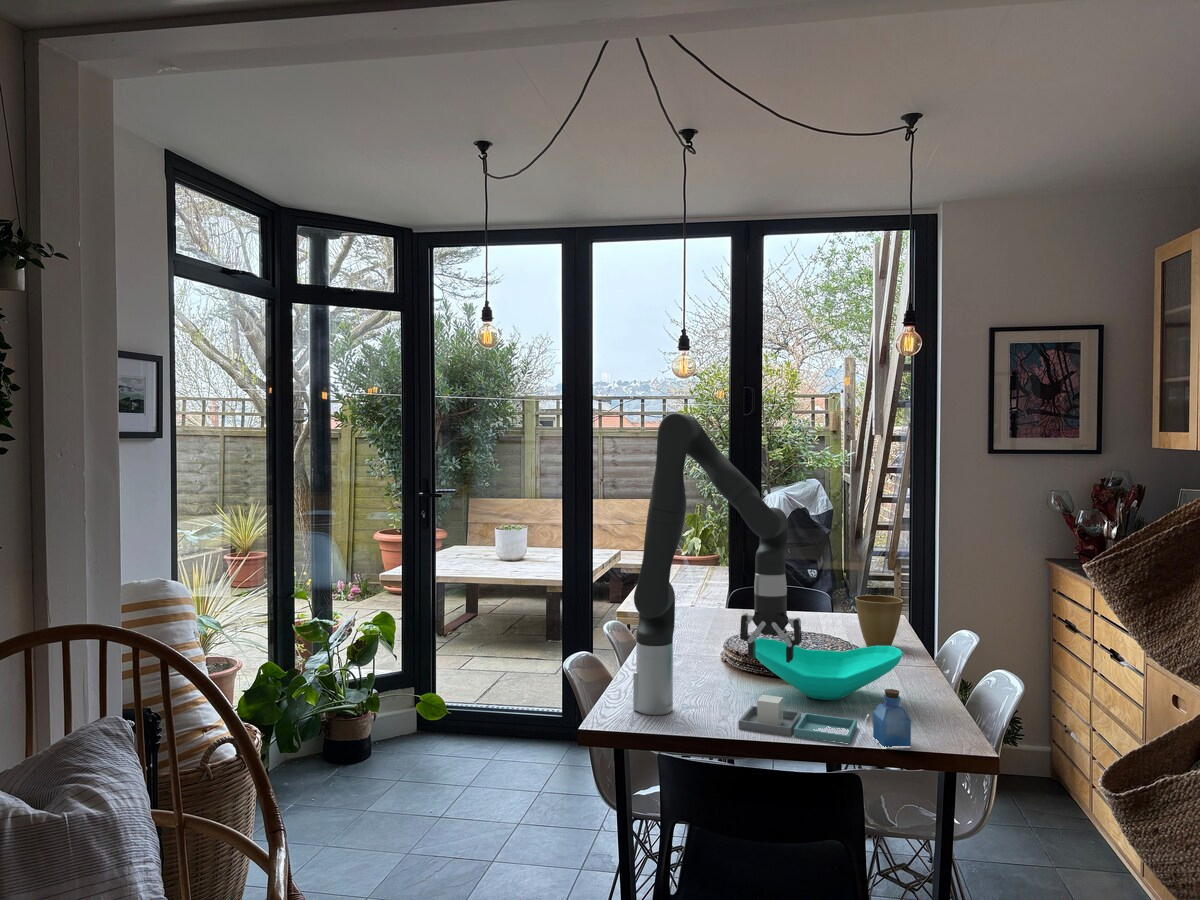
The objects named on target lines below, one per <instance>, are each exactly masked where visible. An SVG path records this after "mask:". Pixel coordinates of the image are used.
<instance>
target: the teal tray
mask: <svg viewBox="0 0 1200 900" xmlns="http://www.w3.org/2000/svg"><path fill="white" fill-rule="evenodd" d="M802 714H803V715H801V719H800V720H799V722H798V723H797V725H796V726H795V728H794V732H793V737H794V738H800V739H806V738H809V739H808V740H813V739H817V740H816V741H820V740H826V741H825V742H827V741H835V742H843V743H848V744H849V743H851V742H850V741H852V740H853V737H854V735H855V733H856V730H857V728H858V719H852V718H848V717H846V718H845V717H838V716H831V715H824V714H818V713H817V714H815V713H811V712H810V713H808V712H804V713H802ZM827 726H829V727H831V728H835V729H836V728H840V729H841V728H845V729H846V730H847V729H848V730H849V732H848V734H847V735H842V734H835V733H828V732H821V731H814V730H813V729H815V730H816V729H817V730H818V728H821V729H822V728H823V729H824V728H826V727H827ZM827 728H828V727H827ZM831 728H830V729H831ZM828 729H829V728H828ZM836 730H837V729H836ZM838 730H839V729H838ZM841 730H842V729H841ZM849 745H850V744H849Z"/></svg>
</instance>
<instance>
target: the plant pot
mask: <svg viewBox="0 0 1200 900" xmlns="http://www.w3.org/2000/svg"><path fill="white" fill-rule="evenodd" d="M854 601H855V607H856V612H857V618H858V622H859V627H860V631H861V634H862V638H863V640H864V643H865V647H871V646H893V642H894V640H895V637H896V634H897V630H898V627H899V624H900V621H901V620H900V619H901V614H902V611H903V603H904V600H903V599H901V598H899V597H895V596H890V595H889V596H888V595H877V594H875V595H874V594H872V595H871V594H869V595H868V594H866V595H857V596H855V598H854Z"/></svg>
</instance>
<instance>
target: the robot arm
mask: <svg viewBox="0 0 1200 900" xmlns="http://www.w3.org/2000/svg"><path fill="white" fill-rule="evenodd" d="M656 437H657V438H656V457H655V469H654V474H653V480H652V486H651V493H650V498H649V504H648V511H647V517H646V526H645V533H644V541H643V556H642V560H641V562H642V563H641V566H640V571H639V574H638V579H637V582H636V587H635V589H634V594H633V603H634V607H635V609H636V611H637V612H638V613H639V614H638V615H639V618H638V625H637V628H636V634H635V635H636V636H635V637H636V639H635V642H636V646H635V648H636V650H635V651H636V654H635V655H636V656H635V657H636V660H635V661H636V665H635V666H636V668H635V669H636V670H635V671H634V672H633V675H632V676H633V677H632V678H633V683H632V684H633V685H632V686H633V688H632V689H633V692H632V694H633V696H632V697H633V699H632V700H633V701H632V702H633V707H632V710H633V711H636V712H639V713H640V714H644V715H648V716H662V715H667V714H670V713H672V712H673V711H672V710H674V708H673V707H674V699H673V698H674V697H673V696H674V686H673V685H674V677H673V676H674V668H673V667H674V665H673V664H674V645H673V644H674V632H675V624H676V623H675V619H676V616H675V615H676V596H675V595H676V594H675V590H674V587H673V585H672V584H671V583H670V577H671V569H672V564H673V561H674V557H675V555H676V551H677V549H678V546H679V543H680V539H681V536H682V534H683V529H684V523H685V517H686V512H687V511H686V509H687V495H686V487H685V480H684V479H685V478H684V477H685V475H684V471H685V469H684V468H685V463H686V459H687V458H686V457H687V455H688V456H690V458H691V459H693V460H694V461H695V462H696V463H697V464H699V466H700V467H701V468H702V469H703V471H704V472H705V473H706V475H707V476H708V478H709V480H710V481H711V483H712V484H713V486H714V487H715V488H716V490H717V491H718V492H719V493H720V494H721V495H722V497H724V498H725V500H726V501H727V502H728V503H730V505H732V507H733V508H735V509H736V511H737V512H738V513H739V515H740V516H741V518H742V519H743V520H744V522H745V524H746V525H747V527H748V528H749V529H750V530H751V531H752V532H753V533H754V534H755V535H756V536H758V537H759V546H758V548H757V550H756V553H755V559H754V560H755V567H754V568H755V569H754V570H755V571H754V572H755V573H754V585H753V586H754V590H753V591H754V594H753V595H754V606H753V607H754V614H753V615H752V614H751V615H750V614H748V613H744V614H742V615H741V616H740V633H739V637H740V638H739V639H740V640H741V641H745V642H747V654H748V657H750V659H751V660H754V659H756V642H754V640H755V639H758V637H759V635H760V634H762V635H763V636H769V635H770V636H774V637H777V636H779V638H780V639H781V640H783V642H785V643H786V644H787V647H786V662H787V663H790V662H791V660H792V659H793V657H794V646H799V645H800V644H801V643H802V641H803V638H802V637H803V636H802V625H801V623H802V621H801V618H800V617H796V618H789V617H788V612H787V611H788V610H787V605H788V604H787V601H788V600H787V599H788V598H787V597H788V595H787V593H788V587H787V577H786V548H787V544H788V543H787V542H788V535H789V522H788V521H789V519H788V517H787V515H786V514H785V512H784V511H783V510H782V509H781V508H779V507H769V505H768V504H767V503H766V502H765V501H764V500H763V498H761V496H760V491H759V490H758V489H757V488H756V487H755V485H754V484H753V483H752V482H751V481H750V480H749V479H748V478H747V477H746V475H743V473H742V472H741V471H740V470H739V469H738V468H737V467H735V466H734V464H733V463H732V462H731V461H730V460H729V459H728V458H727V457H726V456H725V455H724V454H723V453H722V452H721V451H720V449H719V448H718V447H717V445H716V444H715V443H714V442H713V441H712V438H710V437H709V435H708V434H707V432H706V431H705V429H704V428H703V427H702V425H701V423H699V421H698V420H697V419H696V418H695V417H694V416H692V415H691V414H687V413H680V412H672V413H669V414H667V415H666V416H664V417H663V418H662V420H661V421H660V423H659V425H658V429H657V435H656ZM751 622H752V623H753V624H754V626H756V628H755V629H754V630H753V632H752V633H751V634H749V633H748V632H749V624H751ZM788 624H790V627H791V628H792V629H793V635H794V637H793V638H792V636H791V635H790V633H789V631H788V630H787V628H786V627H787V626H788ZM671 711H672V712H671Z"/></svg>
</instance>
